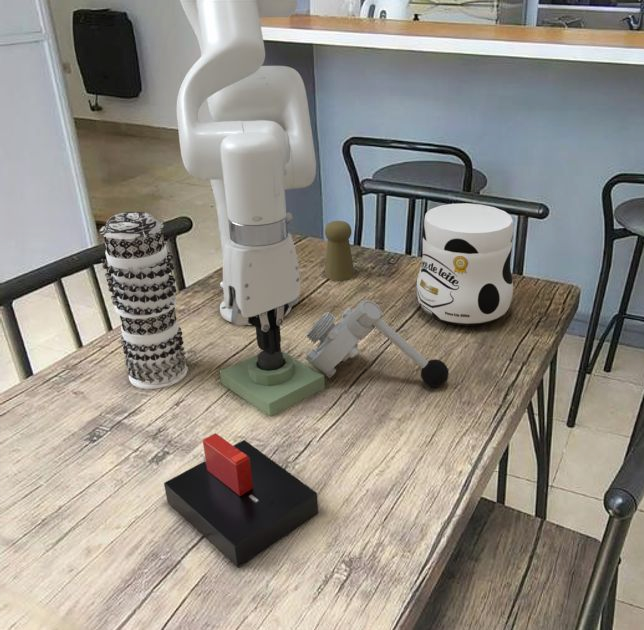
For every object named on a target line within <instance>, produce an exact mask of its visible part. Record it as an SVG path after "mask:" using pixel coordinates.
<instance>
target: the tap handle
mask: <svg viewBox="0 0 644 630" xmlns="http://www.w3.org/2000/svg"><path fill="white" fill-rule="evenodd" d="M202 445H203V451H204V452H203V453H204V458H205V459H206V465H207V470H208V471H209V472H210V473H211V474H213V475H214V476H215V477H216V478H218V479H219V480H220V481H221V482H223V483H224V484H225V485H226V486H228V487H229V488H230V489H232V490H233V491H234V492H235V493H237V494H238V495H239V496H242V495H243V494H245V493H246V492H248V491H250V490H251V489H253V484H252V475H251V467H250V458H249V457H248V456H247V455H246V454H244V453H243V452H241V451H240V450H238V449H237V448H235V447H234V444H231V443H230V442H229V441H228V440H226V439H224V438H223V437H222V436H220V435H219V434H218V433H215V432H214V433H213V434H211V435H209V436H208V437H206V438H203V439H202Z"/></svg>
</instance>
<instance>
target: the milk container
mask: <svg viewBox="0 0 644 630" xmlns="http://www.w3.org/2000/svg"><path fill="white" fill-rule="evenodd" d="M422 228H423V229H422V232H423V233H422V235H423V236H422V257H421V258H422V260H421V265H420V267H419V271H418V275H417V278H416V286H415V287H416V290H415V291H416V297H417V302H418V304H419V306H420V308H421V309H422V311H423V312H424V313H425V314H427V315H428V316H430V317H432V319H435V320H436V321H439V322H442V323H446V324H448V325H456V326H462V327H463V326H464V327H467V326H480V325H481V326H482V325H484V324H490V323H493V322H495V321H496V320H498V319H500V318H502V317H503V316H504V315H505V314H506V313H507V311H508V310H509V308H510V306H511V302H512V300H513V295H514V282H513V276H512V269H511V260H512V253H513V239H514V222H513V217H512V215H510V214H509V213H508V212H506V211H505V210H502V209H500V208H497V207H495V206H490V205H485V204H477V203H468V202H465V203H464V202H463V203H448V204H443V205H438V206H436V207H433V208H431V209H429V210H428V211H427V212H426V213H425V215H424V220H423V227H422Z"/></svg>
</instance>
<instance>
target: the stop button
mask: <svg viewBox="0 0 644 630" xmlns="http://www.w3.org/2000/svg"><path fill="white" fill-rule="evenodd" d="M281 351H282V350H281ZM281 351H280V352H275V354H273V355H270V354H268V353H266V352H265V351H263V350H261V351H260V352H259V353H257V354H258V365H259V368H260V369H261V370H266V371H272V370H277V369H279V368H281V367H283V365H284V362H283V353H282V352H283V351H282V352H281Z"/></svg>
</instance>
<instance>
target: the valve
mask: <svg viewBox="0 0 644 630" xmlns="http://www.w3.org/2000/svg"><path fill="white" fill-rule="evenodd" d="M383 317H384V315H383V311H382V310H381V307H380V306H379V305H378V304H377V303H376V302H374V301H372V300H370V299H363V300H362V301H361V302H359V303H358V304H357V305H356V306H355V308H353V309H352V308H350V307H347V308H346V309H345V310H344V311H343V312H342V315H341V318H342V319H340V321H339V322H337V323H336V324H335V321H336V316H334V314H332V313H330V311H326V312H325V313H324V314H322V316H320V317H319V319H318V320H316V322H315V323H314V324H313V325H312V326H311V328H310V329H309V330H308V331H307V333H306V334H305V336H304V337H305V338H307V339H308V341H310V342H311V343H312V344H315V343H316V342H318V341H319V343H318V345H317V347H316V348H315V349H314V348H312V349H310V350H309V351H308V352H307V354H306V355H305V356H304V357H305V358H304V359H305V360H306V361H307V362H308V363H309V364H310V365H312V367H314V368H315V370H317V371H318V372H319V373H321V374H323V375H324V376H326V377H327V378H328V379H331V378H332V377H333V376H334V375H335V374H336V372H337V368H335V367H336V366H338V365H339V364H340V363H341V362H346V361H347V360H348V359H349V358H351V359H352V358H354V357H355V356H357V354H358V353H359V351H360V349H359V348H358V346H359V345H358V342H359V341H362V340H363V339H364V338H366V337H367V336H368V335H369V334H370V333H371V332H372V331H373V330H374V329H375V328H376V330H378V331H379V332H380V333H381V334H383V335H384V337H386V338H387V339H388V340H389V341H390V342H392V343H393V344H394V345H395V346H396V347H397V348H398V349H399V350H400V351H402V353H404V354H405V355H406V356H407V357H408V358H409V359H410V360H411V361H413V362H414V363H415V364H416V365H417V366H418V367H420V368H421V369H420V377H421V380H422V382H423V383H424V384H425V385H426V386H427V387H431V388H439V387H441V386H443V385H445V384H446V383H447V381H448V379H449V374H450V373H449V368H448V366H447V365H446V363H445V362H443V361H442V360H440V359H436V358H435V359H430V360H428V359H427V358H426V357H424V356H423V354H421V353H420V352H419V351H417V349H415V348H414V347H413V346H412V345H411V344H410V343H409V342H408V341H407V340H405V339H404V338H403V337H402V336H401V335H400V334H399V333H398V332H397V331H396V330H394V328H392V327H391V326H390V325H389V324H387V322H385V320H383V319H382V318H383Z"/></svg>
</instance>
